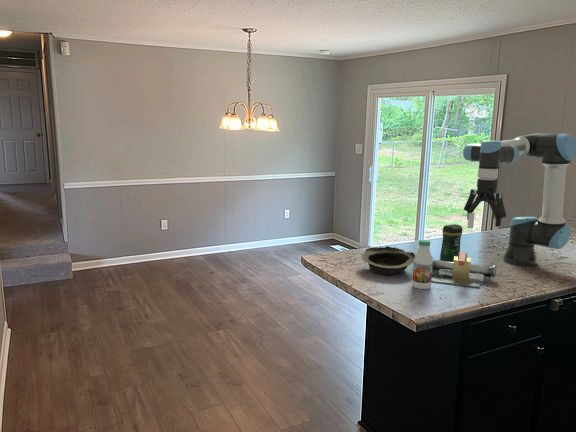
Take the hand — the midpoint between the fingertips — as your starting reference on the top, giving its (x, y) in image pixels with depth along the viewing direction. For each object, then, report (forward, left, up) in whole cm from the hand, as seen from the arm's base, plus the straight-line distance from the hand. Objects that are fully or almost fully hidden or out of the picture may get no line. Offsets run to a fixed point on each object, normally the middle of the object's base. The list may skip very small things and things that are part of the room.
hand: (482, 230), depth 194 cm
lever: (+7, -5, -16) cm, 18 cm away
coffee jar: (+13, -38, -25) cm, 47 cm away
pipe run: (+9, -9, -24) cm, 27 cm away
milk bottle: (+22, +10, -25) cm, 34 cm away
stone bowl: (+39, -6, -25) cm, 46 cm away
